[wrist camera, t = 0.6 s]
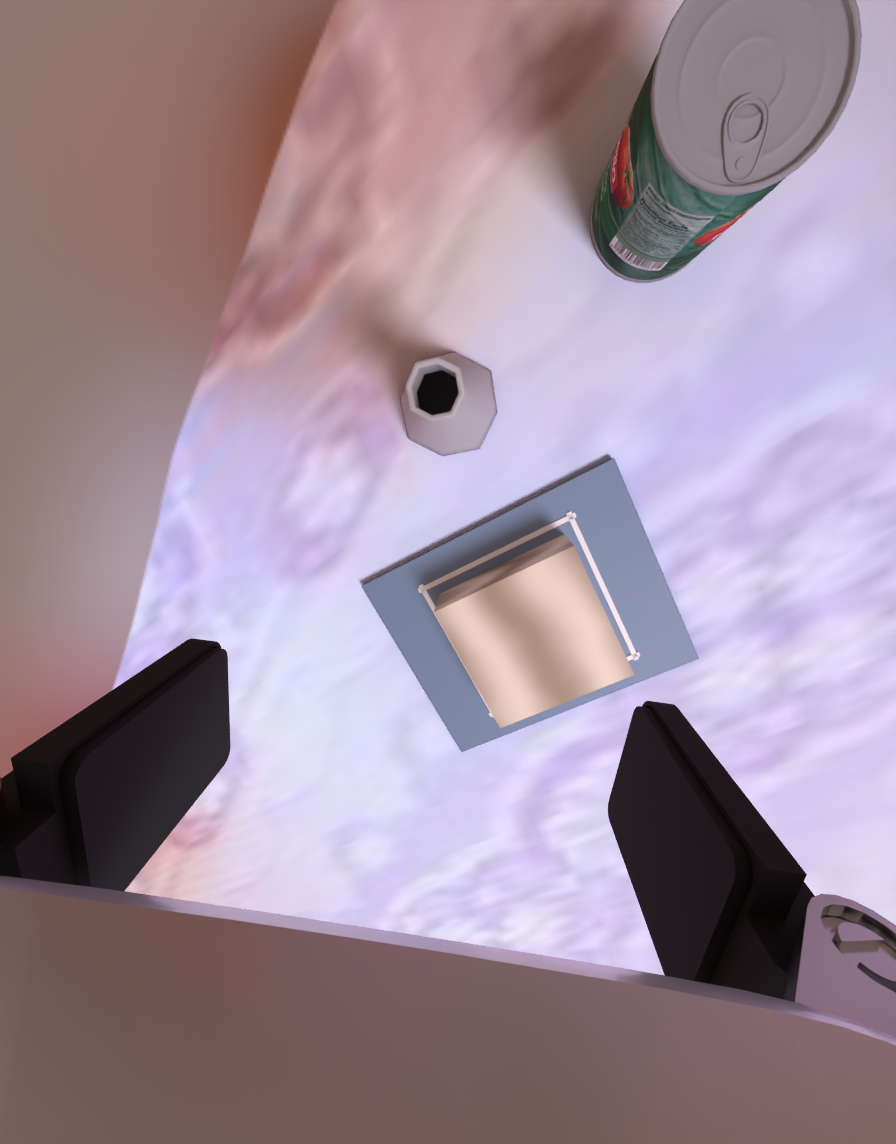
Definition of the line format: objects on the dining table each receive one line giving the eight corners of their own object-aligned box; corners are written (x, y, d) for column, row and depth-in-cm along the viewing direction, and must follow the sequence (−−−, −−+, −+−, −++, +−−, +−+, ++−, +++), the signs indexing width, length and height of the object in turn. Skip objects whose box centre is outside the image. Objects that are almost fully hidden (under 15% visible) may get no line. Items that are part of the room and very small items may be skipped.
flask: (405, 346, 31) (371, 302, 22) (505, 359, 31) (515, 320, 21) (396, 449, 33) (361, 451, 24) (489, 462, 33) (492, 469, 23)
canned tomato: (593, 142, 27) (664, -51, 16) (725, 131, 26) (887, -77, 16) (585, 287, 29) (644, 199, 19) (707, 280, 29) (838, 184, 18)
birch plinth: (563, 534, 33) (574, 545, 30) (618, 650, 36) (634, 674, 32) (439, 594, 36) (434, 611, 32) (498, 699, 38) (500, 728, 34)
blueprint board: (611, 458, 32) (614, 458, 31) (695, 655, 36) (699, 659, 35) (363, 584, 36) (361, 586, 36) (461, 747, 40) (461, 752, 40)
